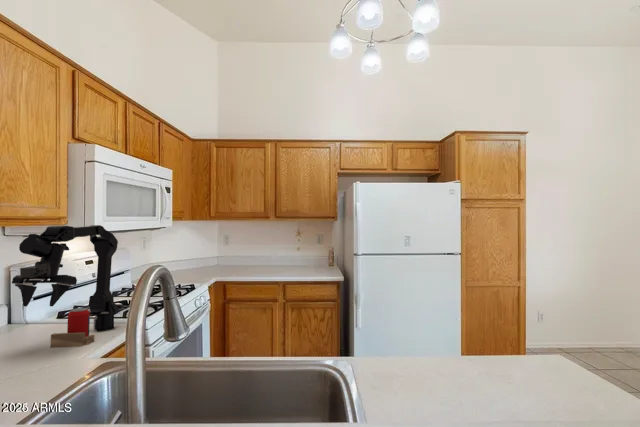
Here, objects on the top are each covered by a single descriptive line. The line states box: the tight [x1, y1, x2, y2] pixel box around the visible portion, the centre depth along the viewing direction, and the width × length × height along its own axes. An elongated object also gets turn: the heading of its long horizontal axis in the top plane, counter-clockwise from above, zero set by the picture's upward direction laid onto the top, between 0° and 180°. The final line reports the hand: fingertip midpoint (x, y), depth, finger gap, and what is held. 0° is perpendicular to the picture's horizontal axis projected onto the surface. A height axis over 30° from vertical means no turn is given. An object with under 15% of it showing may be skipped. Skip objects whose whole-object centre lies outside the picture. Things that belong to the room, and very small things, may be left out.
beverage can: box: [66, 307, 91, 337], centre depth 126 cm, size 7×7×12 cm
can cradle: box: [50, 332, 95, 348], centre depth 122 cm, size 6×12×4 cm, turn 93°
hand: (38, 306), depth 111 cm, fingers open, 9 cm apart
